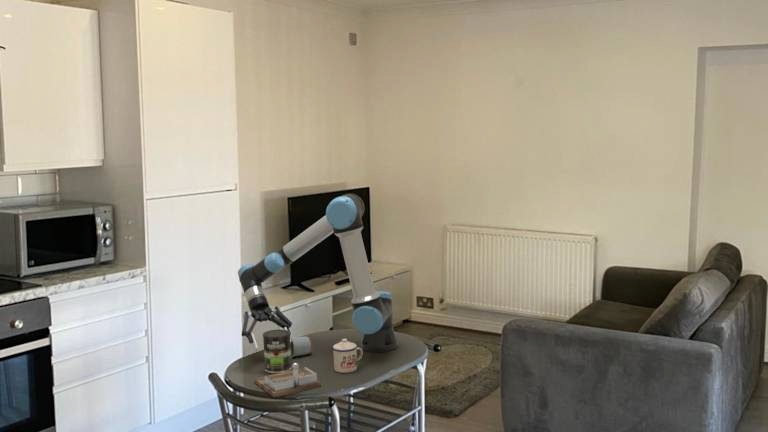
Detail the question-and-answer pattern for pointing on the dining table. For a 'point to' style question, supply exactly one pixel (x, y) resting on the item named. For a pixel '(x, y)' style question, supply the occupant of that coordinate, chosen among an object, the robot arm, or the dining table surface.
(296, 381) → the keeper cradle
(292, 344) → the ceramic mug
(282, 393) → the board
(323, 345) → the dining table surface
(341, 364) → the teacup with lid
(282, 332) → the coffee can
